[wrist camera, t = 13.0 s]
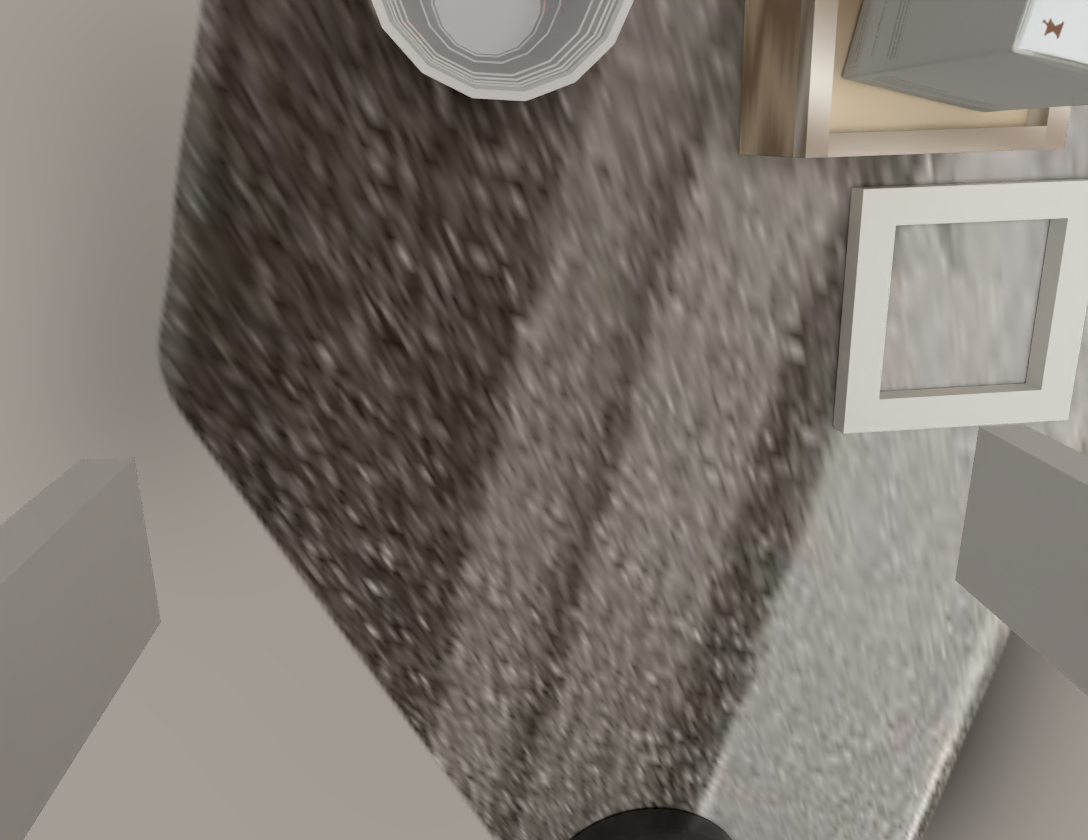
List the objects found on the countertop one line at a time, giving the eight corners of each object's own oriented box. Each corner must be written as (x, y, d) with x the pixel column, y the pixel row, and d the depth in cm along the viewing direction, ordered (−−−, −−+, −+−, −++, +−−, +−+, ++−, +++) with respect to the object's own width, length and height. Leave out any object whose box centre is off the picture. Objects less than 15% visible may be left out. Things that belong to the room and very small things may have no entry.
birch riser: (950, 146, 48) (1064, 148, 39) (739, 154, 47) (805, 158, 38) (978, -100, 44) (1111, -162, 35) (748, -97, 43) (824, -160, 34)
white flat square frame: (1051, 412, 53) (1067, 419, 52) (832, 425, 52) (843, 433, 51) (1089, 178, 49) (1108, 179, 47) (851, 187, 48) (863, 189, 46)
